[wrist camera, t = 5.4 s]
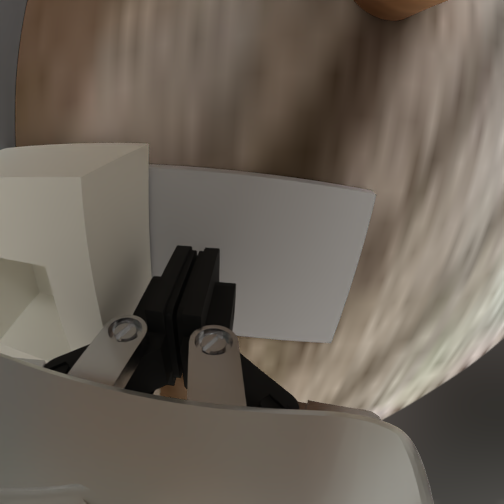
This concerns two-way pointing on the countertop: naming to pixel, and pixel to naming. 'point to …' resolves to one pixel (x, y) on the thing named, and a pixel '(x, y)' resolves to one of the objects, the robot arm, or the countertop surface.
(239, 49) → the countertop surface
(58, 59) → the countertop surface
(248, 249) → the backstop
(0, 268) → the socket block
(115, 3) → the countertop surface
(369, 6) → the dowel
